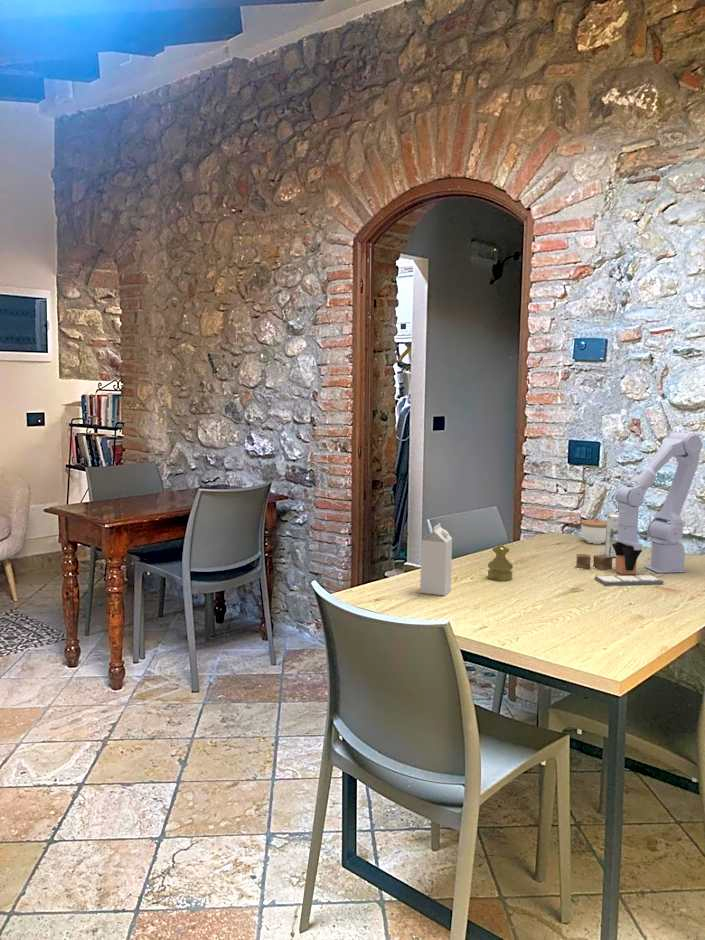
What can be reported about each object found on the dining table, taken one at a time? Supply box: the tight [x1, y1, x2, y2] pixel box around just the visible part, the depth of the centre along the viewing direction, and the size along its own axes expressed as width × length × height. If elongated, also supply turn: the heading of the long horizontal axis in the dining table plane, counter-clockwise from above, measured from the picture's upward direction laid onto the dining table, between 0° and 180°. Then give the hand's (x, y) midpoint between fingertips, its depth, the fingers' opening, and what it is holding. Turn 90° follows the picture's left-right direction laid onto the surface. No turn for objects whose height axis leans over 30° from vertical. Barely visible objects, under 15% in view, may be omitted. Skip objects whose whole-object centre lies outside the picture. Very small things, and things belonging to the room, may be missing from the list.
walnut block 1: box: [575, 553, 592, 570], centre depth 245 cm, size 4×4×4 cm
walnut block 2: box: [592, 554, 613, 571], centre depth 244 cm, size 4×4×4 cm
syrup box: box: [604, 513, 619, 558], centre depth 261 cm, size 6×6×14 cm
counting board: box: [594, 574, 665, 587], centre depth 228 cm, size 18×7×1 cm, turn 97°
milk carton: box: [419, 522, 453, 596], centre depth 214 cm, size 7×7×19 cm
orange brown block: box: [614, 555, 638, 576], centre depth 238 cm, size 4×4×5 cm
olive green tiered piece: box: [487, 544, 514, 582], centre depth 231 cm, size 7×8×10 cm
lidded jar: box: [580, 517, 607, 545], centre depth 284 cm, size 11×11×9 cm
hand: (625, 568), depth 238 cm, fingers closed on orange brown block, 4 cm apart
